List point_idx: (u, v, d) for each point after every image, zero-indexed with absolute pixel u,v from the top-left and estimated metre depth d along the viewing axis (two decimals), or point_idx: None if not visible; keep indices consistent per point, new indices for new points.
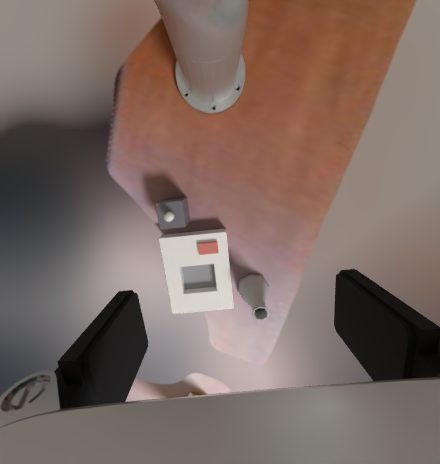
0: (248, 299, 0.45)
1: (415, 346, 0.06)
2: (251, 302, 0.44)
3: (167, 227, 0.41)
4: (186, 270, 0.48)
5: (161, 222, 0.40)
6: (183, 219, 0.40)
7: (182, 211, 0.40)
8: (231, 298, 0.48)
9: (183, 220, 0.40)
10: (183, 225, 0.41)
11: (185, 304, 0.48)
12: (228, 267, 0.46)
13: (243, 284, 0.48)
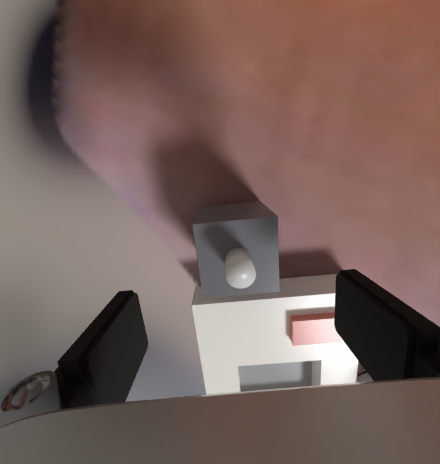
0: None
1: (415, 346, 0.06)
2: None
3: (225, 292, 0.14)
4: None
5: (208, 279, 0.14)
6: (274, 271, 0.13)
7: (274, 248, 0.13)
8: None
9: (274, 274, 0.13)
10: (272, 287, 0.14)
11: None
12: (354, 367, 0.19)
13: None
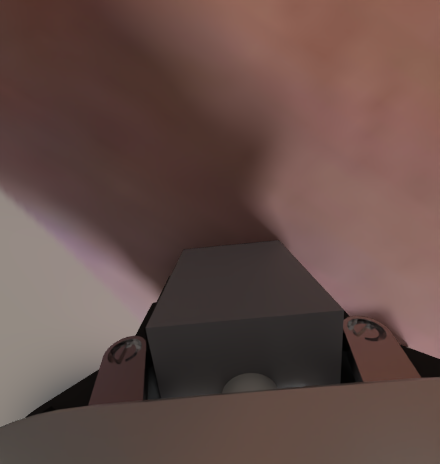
0: None
1: None
2: None
3: None
4: None
5: None
6: None
7: (332, 374, 0.06)
8: None
9: None
10: None
11: None
12: None
13: None
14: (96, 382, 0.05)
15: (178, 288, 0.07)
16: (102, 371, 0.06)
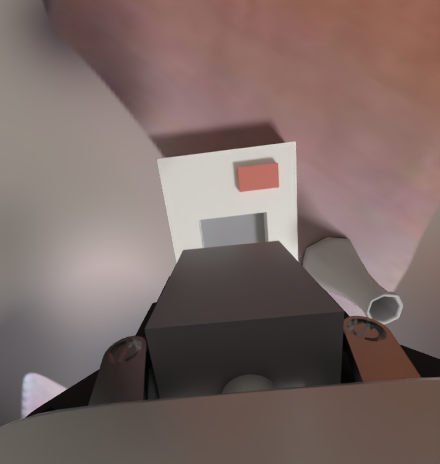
0: (336, 281, 0.23)
1: None
2: (346, 287, 0.22)
3: None
4: (210, 230, 0.26)
5: None
6: None
7: (332, 376, 0.06)
8: None
9: None
10: None
11: None
12: (294, 219, 0.23)
13: (317, 254, 0.26)
14: (96, 382, 0.05)
15: (177, 289, 0.07)
16: (102, 371, 0.06)
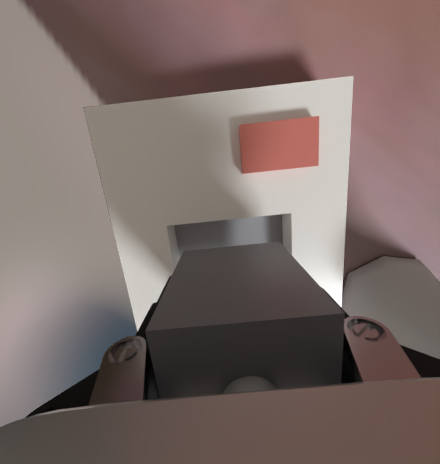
0: (420, 342, 0.12)
1: None
2: None
3: None
4: (192, 242, 0.15)
5: None
6: None
7: (332, 378, 0.06)
8: None
9: None
10: None
11: None
12: (341, 227, 0.13)
13: (371, 286, 0.15)
14: (96, 382, 0.05)
15: (178, 290, 0.07)
16: (102, 371, 0.06)
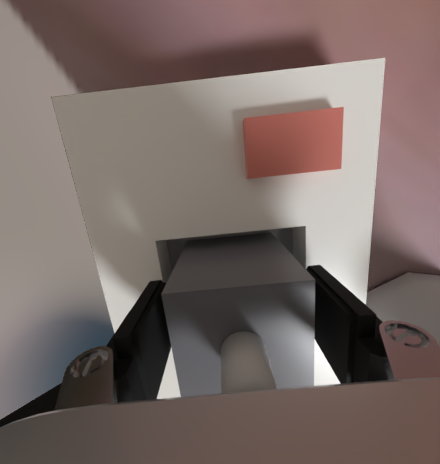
0: None
1: (356, 331, 0.07)
2: None
3: None
4: None
5: (191, 380, 0.08)
6: (306, 368, 0.08)
7: (307, 332, 0.07)
8: None
9: (305, 372, 0.08)
10: None
11: None
12: (365, 242, 0.11)
13: (397, 309, 0.13)
14: (58, 399, 0.05)
15: (185, 268, 0.09)
16: (65, 387, 0.05)
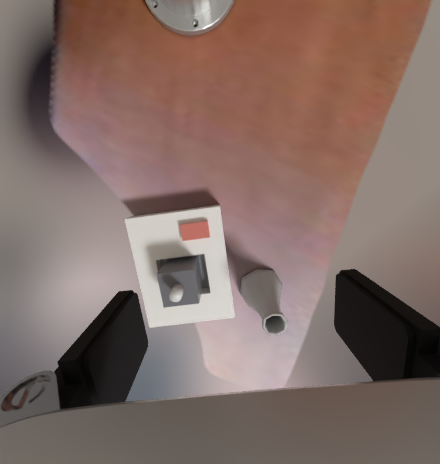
0: (255, 303, 0.31)
1: (415, 346, 0.06)
2: (259, 308, 0.30)
3: (173, 304, 0.30)
4: None
5: (165, 298, 0.29)
6: (195, 293, 0.29)
7: (194, 283, 0.29)
8: (230, 303, 0.34)
9: (195, 295, 0.29)
10: (195, 301, 0.29)
11: (166, 313, 0.34)
12: (225, 258, 0.32)
13: (247, 283, 0.34)
14: None
15: (163, 268, 0.30)
16: None
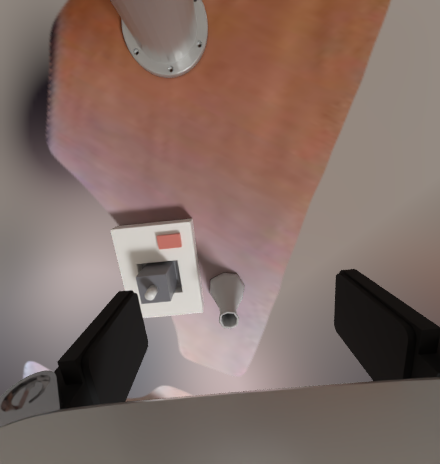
0: (218, 302, 0.38)
1: (415, 346, 0.06)
2: (220, 306, 0.37)
3: (149, 301, 0.36)
4: None
5: (143, 296, 0.36)
6: (167, 293, 0.36)
7: (166, 285, 0.35)
8: (199, 301, 0.41)
9: (167, 294, 0.36)
10: (167, 299, 0.36)
11: (146, 307, 0.41)
12: (194, 264, 0.39)
13: (214, 284, 0.41)
14: None
15: (142, 271, 0.37)
16: None
